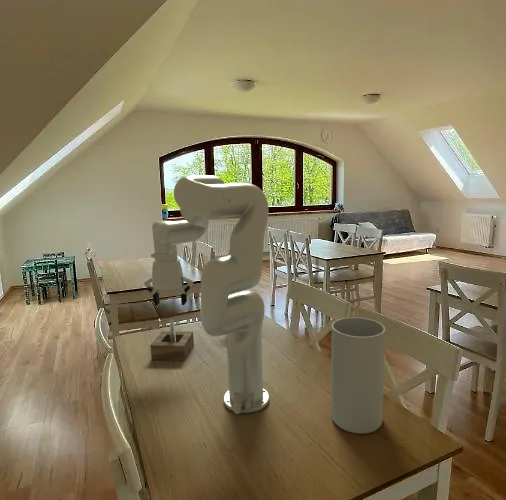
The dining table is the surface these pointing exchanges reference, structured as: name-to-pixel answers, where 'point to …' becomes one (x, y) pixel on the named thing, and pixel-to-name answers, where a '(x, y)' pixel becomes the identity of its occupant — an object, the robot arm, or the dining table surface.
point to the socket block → (172, 346)
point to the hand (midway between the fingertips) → (170, 304)
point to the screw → (172, 331)
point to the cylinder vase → (357, 374)
